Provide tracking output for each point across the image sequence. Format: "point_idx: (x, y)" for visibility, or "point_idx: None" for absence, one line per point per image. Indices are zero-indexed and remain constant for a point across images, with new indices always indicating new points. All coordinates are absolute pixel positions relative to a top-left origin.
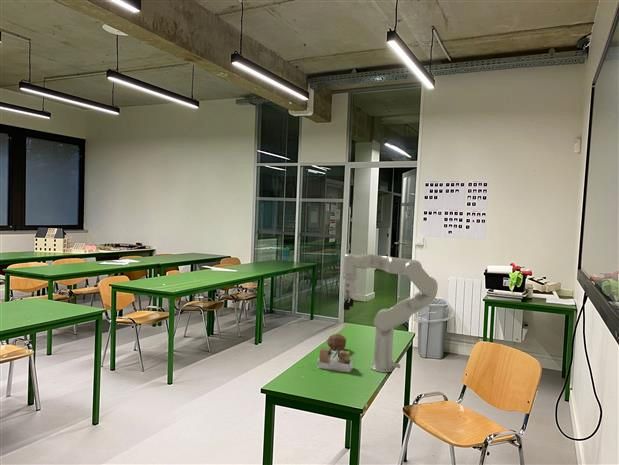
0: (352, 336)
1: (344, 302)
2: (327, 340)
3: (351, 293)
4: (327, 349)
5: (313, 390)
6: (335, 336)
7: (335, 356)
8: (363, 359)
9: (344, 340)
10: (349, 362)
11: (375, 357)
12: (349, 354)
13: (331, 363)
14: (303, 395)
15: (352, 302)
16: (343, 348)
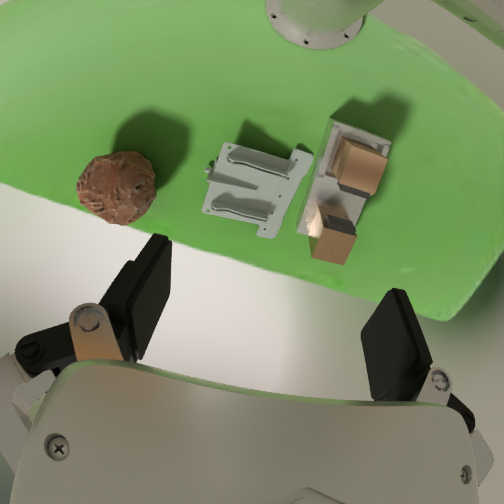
0: (6, 147)
1: (387, 399)
2: (127, 224)
3: (474, 491)
4: (334, 239)
5: (479, 246)
6: (128, 206)
7: (249, 181)
8: (215, 70)
9: (121, 162)
10: (339, 134)
11: (341, 29)
12: (353, 144)
13: (357, 203)
14: (491, 263)
15: (148, 281)
16: (140, 155)
